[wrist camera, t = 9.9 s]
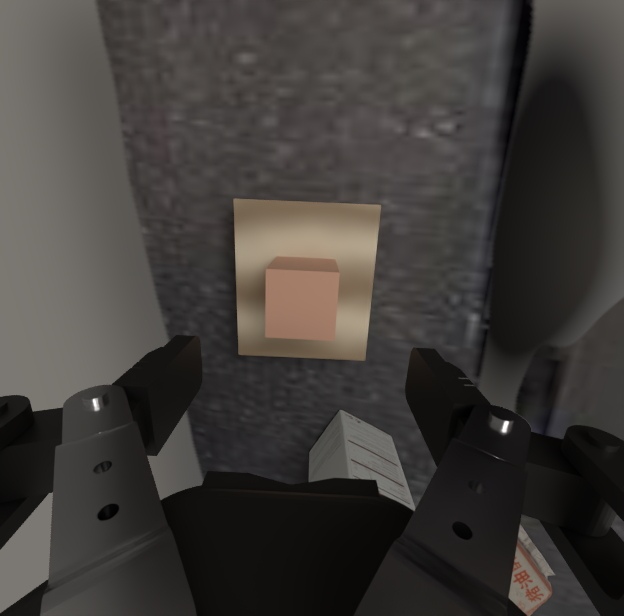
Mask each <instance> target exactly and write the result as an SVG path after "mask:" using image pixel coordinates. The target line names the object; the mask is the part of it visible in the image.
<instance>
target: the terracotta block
mask: <svg viewBox="0 0 624 616" xmlns="http://www.w3.org/2000/svg"><path fill="white" fill-rule="evenodd" d="M339 276H340V272H339V269H338V266H337V263H336V260H335V259H324V258H304V257H285V256H276V258H275V259H274V260H273V261H272V262H271V263H270V264H269V266H268V267H267V268H266V308H265V337H267V338H286V339H306V340H325V341H335V329H336V316H337V303H338V289H339Z"/></svg>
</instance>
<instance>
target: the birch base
mask: <svg viewBox="0 0 624 616" xmlns="http://www.w3.org/2000/svg"><path fill="white" fill-rule="evenodd" d="M380 210H381V205H367V204H344V203H321V202H298V201H275V200H253V199H234V228H235V260H236V291H237V322H238V353H239V355H254V356H275V357H297V358H319V359H341V360H363V361H365V356H366V346H367V337H368V327H369V317H370V307H371V298H372V288H373V278H374V269H375V259H376V249H377V239H378V230H379V220H380ZM276 256H285V257H304V258H324V259H335V260H336V263H337V266H338V269H339V272H340V276H339V289H338V303H337V316H336V329H335V341H325V340H306V339H286V338H267V337H265V308H266V268H267V267H268V266H269V264H270V263H271V262H272V261H273V260H274V259H275V258H276Z"/></svg>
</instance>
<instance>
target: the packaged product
mask: <svg viewBox="0 0 624 616" xmlns="http://www.w3.org/2000/svg"><path fill="white" fill-rule="evenodd" d="M550 575H555V574H554V573H553V571H552V570H551V568H550V567H549V565H548V564H547V562H546V561H545V559H544V557H543V556H542V554H541V553H540V552H539V551H538V549H537V548H536V547H535V545H534V544H533V542H532V541H531V540H530V538H529V537H528V535H527V534H526V532H525V531H524V529H523V528H522V526H521V525H520V528H519V534H518V541H517V547H516V553H515V560H514V566H513V573H512V579H511V585H510V592H509V599H510V600H511V601H513V602H514V603H515V604H516V605H517V606H518V607H519V608H520V609H521V610H522V611H523V612H524V613H525V614H526V615H527V616H530V615H531V614H532V613H533V612H534V611H535V610H536V609H537V608H538V607H539V606H540V605H541V604H543V602H546V601H547V600H548V598H549V597H550V596H551V595H552V588H551V584H550V582H549V581H548V580H547V576H550Z"/></svg>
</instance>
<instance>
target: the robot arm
mask: <svg viewBox="0 0 624 616" xmlns="http://www.w3.org/2000/svg"><path fill="white" fill-rule="evenodd" d="M201 383H202V361H201V347H200V340H199V337H198V336H184V335H176V336H175V337H174V338H173V339H172V340H171V341H169V342H168V343H167V344H166V345H165V346H164V347H160V348H158V349H156V350H154V351H152V352H149V353H148V354H146V355H145V356H144V357H143V358H142V359H141V360H140V361H139V362H137V363H136V364H135V365H134V366H133V367H132V368H130V369H129V370H128V371H127V372H126V373H124V374H123V375H122V376H121V377H120V378H119V379H118V380H116V381H115V382H114V383H113V384H112V385H101V386H95V387H92V388H88V389H85V390H83V391H80V392H78V393H76V394H74V395H73V396H71V397H70V398H69V399H67V401H66V402H65V403H64V405H63V408H57V409H49V410H42V411H34V412H33V411H32V408H31V404H30V401H29V399H28V398H27V397H25V396H20V395H11V396H3V397H0V549H1V548H2V547H3V546H4V545H5V544H6V542H7V541H8V540H9V539H10V538H11V537H12V535H13V534H14V533H15V532H16V531H17V530H18V528H19V527H20V526H21V525H22V524H23V523H24V521H25V520H26V519H27V518H28V517H29V516H30V515H31V513H32V512H33V511H34V510H35V509H36V508H37V507H38V505H39V504H40V503H41V502H42V501H43V500H44V498H45V497H46V496H47V495H48V493H52V492H53V503H52V524H51V543H50V563H49V579H48V580H46V581H45V582H44V583H42V584H41V585H39V586H38V587H37V588H35V589H34V590H32V591H31V592H30V593H28V594H27V595H25V596H24V597H23V598H21V599H20V600H19V601H17V602H16V603H14V604H13V605H11V606H10V607H9V608H7V609H6V610H4V611H3V612H2V613H0V616H527V615H526V614H525V613H524V612H523V611H522V610H521V609H520V608H519V607H518V606H517V605H516V604H515V603H514V602H513V601H511V600H510V599H509V592H510V585H511V579H512V573H513V566H514V560H515V553H516V547H517V541H518V534H519V528H520V522H521V515H522V514H523V515H526V516H529V517H532V518H535V519H538V520H540V522H541V524H542V525H543V527H544V528H545V530H546V532H547V533H548V535H549V536H550V538H551V539H552V541H553V542H554V544H555V546H556V547H557V549H558V550H559V552H560V553H561V555H562V556H563V558H564V559H565V561H566V563H567V564H568V566H569V567H570V569H571V570H572V572H573V573H574V575H575V577H576V578H577V580H578V581H579V583H580V584H581V586H582V587H583V589H584V591H585V592H586V594H587V595H588V597H589V598H590V600H591V601H592V603H593V605H594V606H595V608H596V609H597V611H598V612H599V614H600V615H601V616H624V542H623V541H622V539H621V538H620V537H619V536H618V535H617V533H616V532H615V531H614V530H613V529H612V528H611V525H612V523H613V521H614V519H615V516H616V514H617V515H618V516H619V517H620V518H621V519H622V520H623V521H624V441H623V440H621V439H619V438H618V437H616V436H614V435H612V434H610V433H607V432H605V431H602V430H599V429H596V428H593V427H589V426H583V425H573V426H570V427H568V428H567V430H566V433H565V436H564V439H559V438H555V437H550V436H546V435H542V434H538V433H534V432H531V427H530V425H529V423H528V422H527V421H526V420H525V419H524V418H523V417H521V416H520V415H518V414H517V413H515V412H513V411H511V410H509V409H506V408H503V407H500V406H496V405H491V404H490V403H489V401H488V400H487V399H486V398H485V397H484V396H483V395H482V393H481V392H480V391H479V390H478V389H477V388H476V387H475V386H474V384H473V383H472V382H471V381H470V380H469V379H468V377H467V376H466V375H465V374H464V373H463V372H462V370H461V369H459V368H457V367H456V366H454V365H453V364H451V363H449V362H445V361H444V360H443V358H442V357H441V356H440V355H439V353H438V352H437V351H436V350H435V349H430V348H413V349H412V351H411V355H410V361H409V367H408V373H407V379H406V386H405V393H406V400H407V403H408V405H409V407H410V409H411V411H412V413H413V416H414V418H415V420H416V422H417V424H418V427H419V429H420V431H421V433H422V435H423V438H424V440H425V442H426V444H427V446H428V448H429V451H430V453H431V455H432V457H433V459H434V462H435V464H436V466H437V469H436V471H435V473H434V475H433V477H432V478H431V480H430V482H429V484H428V486H427V488H426V490H425V492H424V494H423V496H422V498H421V499H420V501H419V503H418V505H417V507H416V509H415V511H413V510H412V509H410V508H409V507H407V506H405V505H404V504H402V503H400V502H398V501H396V500H393V499H391V498H388V497H386V496H383V495H379V490H378V485H377V481H376V480H370V479H350V478H330V479H324V480H319V481H313V482H307V483H301V484H295V485H289V484H285V483H281V482H278V481H274V480H271V479H267V478H264V477H260V476H257V475H253V474H250V473H235V472H215V471H208V472H207V474H206V476H205V479H204V481H203V484H202V485H201V486H196V487H192V488H189V489H185V490H183V491H180V492H177V493H175V494H172V495H170V496H168V497H166V498H164V499H162V500H161V501H160V498H159V495H158V491H157V488H156V484H155V481H154V478H153V475H152V471H151V468H150V464H149V461H148V458H147V455H150V456H157V455H158V453H159V452H160V450H161V448H162V447H163V445H164V444H165V442H166V441H167V439H168V438H169V436H170V434H171V433H172V431H173V430H174V428H175V427H176V425H177V423H178V422H179V421H180V419H181V417H182V416H183V414H184V413H185V411H186V410H187V408H188V407H189V405H190V403H191V402H192V400H193V399H194V397H195V396H196V394H197V393H198V391H199V389H200V386H201Z"/></svg>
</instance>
